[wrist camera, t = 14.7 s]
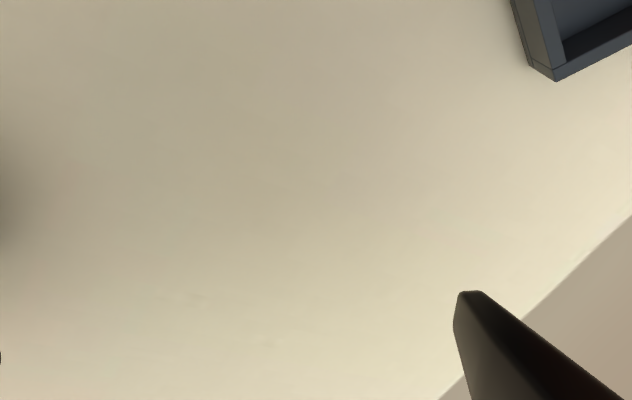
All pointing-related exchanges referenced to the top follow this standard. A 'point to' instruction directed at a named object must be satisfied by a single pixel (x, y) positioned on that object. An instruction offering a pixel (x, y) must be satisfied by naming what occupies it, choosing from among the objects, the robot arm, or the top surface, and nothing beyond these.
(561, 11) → the tray
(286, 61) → the top surface
